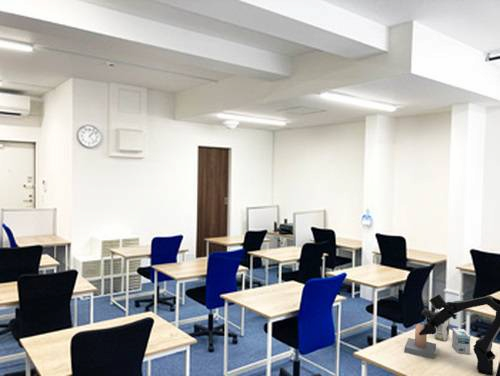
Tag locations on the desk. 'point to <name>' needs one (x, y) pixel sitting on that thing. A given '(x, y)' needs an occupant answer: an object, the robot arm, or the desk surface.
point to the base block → (420, 349)
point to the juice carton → (442, 329)
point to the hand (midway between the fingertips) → (420, 331)
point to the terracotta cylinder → (420, 337)
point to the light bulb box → (461, 341)
